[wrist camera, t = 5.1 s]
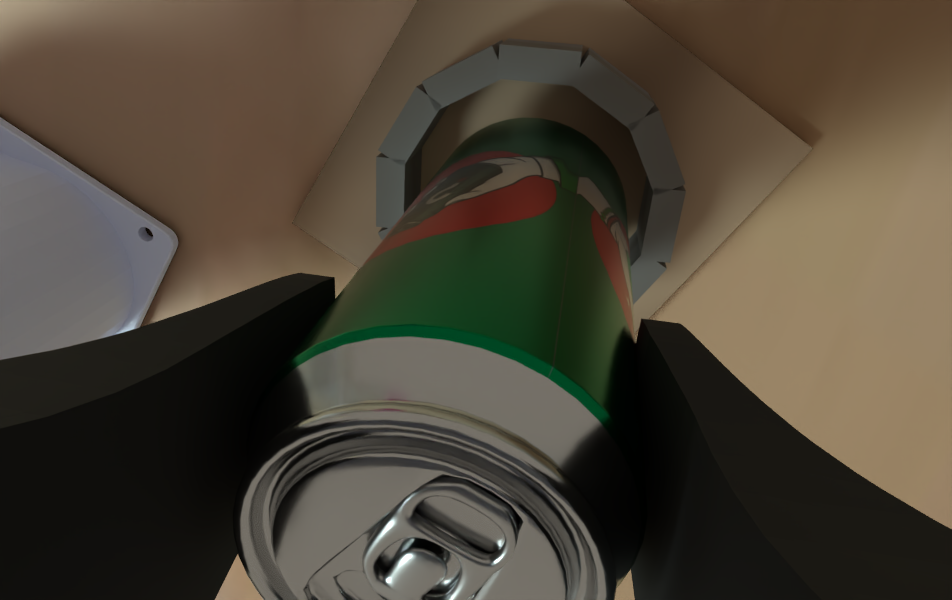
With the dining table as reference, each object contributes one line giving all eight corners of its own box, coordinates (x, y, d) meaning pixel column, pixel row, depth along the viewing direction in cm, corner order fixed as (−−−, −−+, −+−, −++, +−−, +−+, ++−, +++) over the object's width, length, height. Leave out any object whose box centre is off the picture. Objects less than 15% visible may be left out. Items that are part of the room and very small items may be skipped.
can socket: (298, 218, 21) (264, 245, 19) (484, -110, 17) (467, -125, 14) (564, 398, 23) (561, 442, 21) (807, 144, 18) (838, 167, 16)
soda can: (407, 228, 18) (145, 579, 8) (501, 71, 16) (301, 283, 6) (554, 322, 19) (488, 765, 9) (666, 184, 17) (765, 569, 6)
